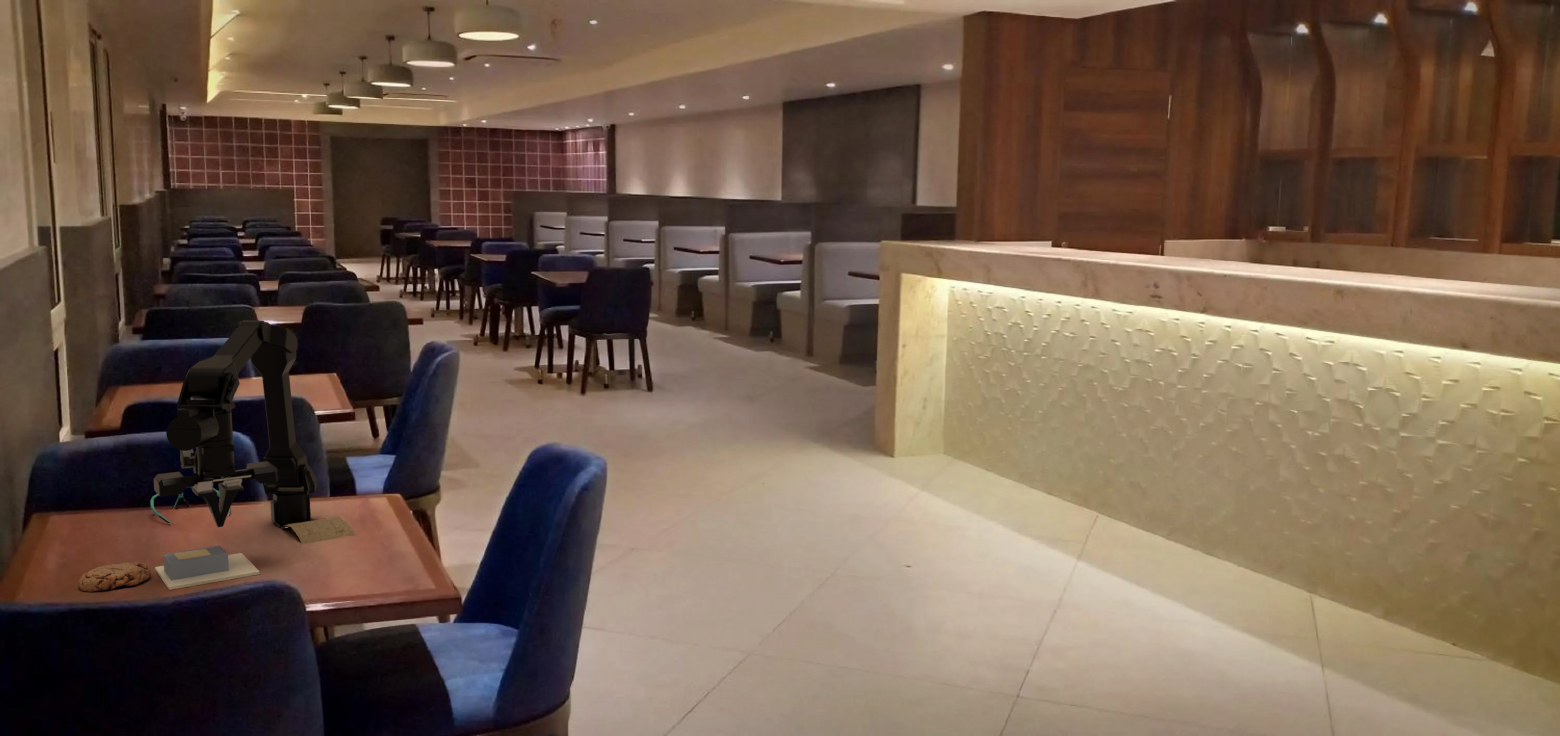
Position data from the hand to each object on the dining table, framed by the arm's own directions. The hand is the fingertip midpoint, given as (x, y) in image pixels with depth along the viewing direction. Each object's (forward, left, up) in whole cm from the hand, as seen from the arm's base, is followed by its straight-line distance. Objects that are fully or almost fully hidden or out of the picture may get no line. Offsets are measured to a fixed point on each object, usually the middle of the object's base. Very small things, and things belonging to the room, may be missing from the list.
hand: (219, 526), depth 200 cm
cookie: (+16, -3, -8) cm, 18 cm away
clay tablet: (-20, -14, -9) cm, 26 cm away
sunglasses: (-3, -42, -8) cm, 43 cm away
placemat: (+2, 0, -8) cm, 8 cm away
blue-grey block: (0, 0, -6) cm, 6 cm away
